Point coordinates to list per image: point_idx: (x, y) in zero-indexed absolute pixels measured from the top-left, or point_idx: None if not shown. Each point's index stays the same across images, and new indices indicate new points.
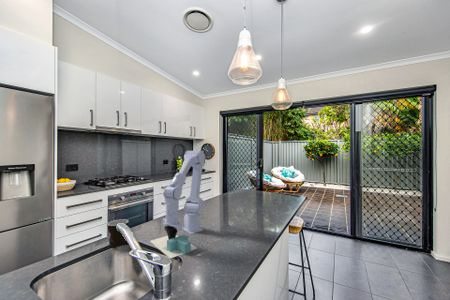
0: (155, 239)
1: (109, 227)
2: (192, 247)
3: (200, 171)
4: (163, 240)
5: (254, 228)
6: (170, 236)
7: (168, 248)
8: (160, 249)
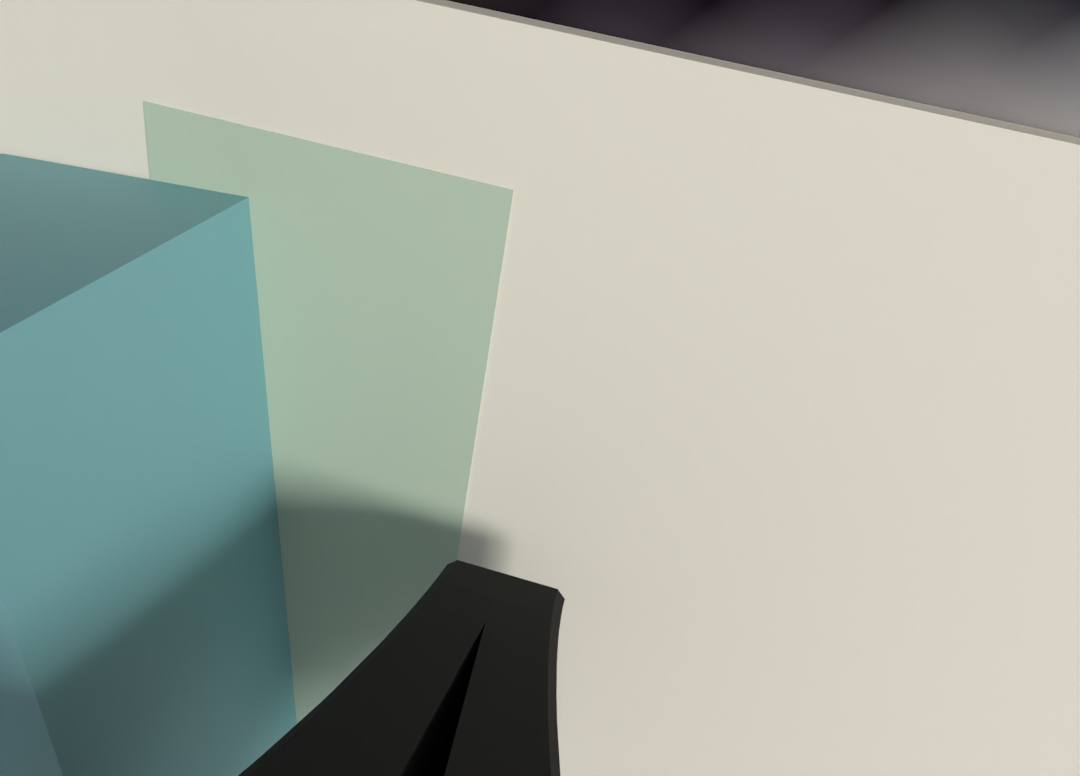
0: None
1: None
2: None
3: None
4: (1023, 636)
5: None
6: (263, 763)
7: (64, 200)
8: (443, 44)
